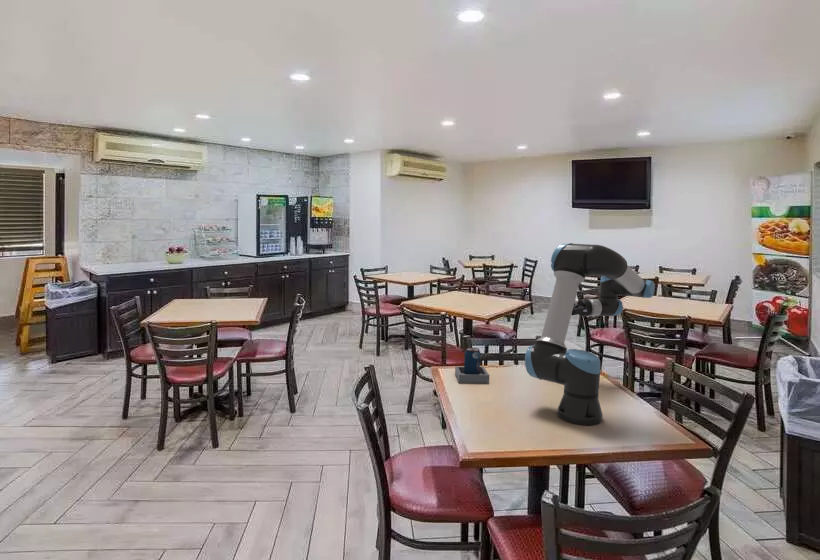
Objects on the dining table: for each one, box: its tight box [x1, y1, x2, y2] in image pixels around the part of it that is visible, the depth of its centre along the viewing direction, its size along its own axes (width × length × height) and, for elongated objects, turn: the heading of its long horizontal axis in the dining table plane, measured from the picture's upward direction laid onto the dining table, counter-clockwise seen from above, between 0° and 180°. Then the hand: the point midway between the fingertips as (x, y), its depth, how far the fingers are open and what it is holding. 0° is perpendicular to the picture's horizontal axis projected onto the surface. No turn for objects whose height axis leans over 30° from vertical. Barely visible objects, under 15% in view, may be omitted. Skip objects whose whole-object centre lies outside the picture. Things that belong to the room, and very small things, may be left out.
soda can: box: [463, 347, 482, 374], centre depth 220 cm, size 7×7×12 cm
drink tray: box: [454, 365, 490, 384], centre depth 220 cm, size 13×13×4 cm
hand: (544, 308), depth 217 cm, fingers open, 13 cm apart
